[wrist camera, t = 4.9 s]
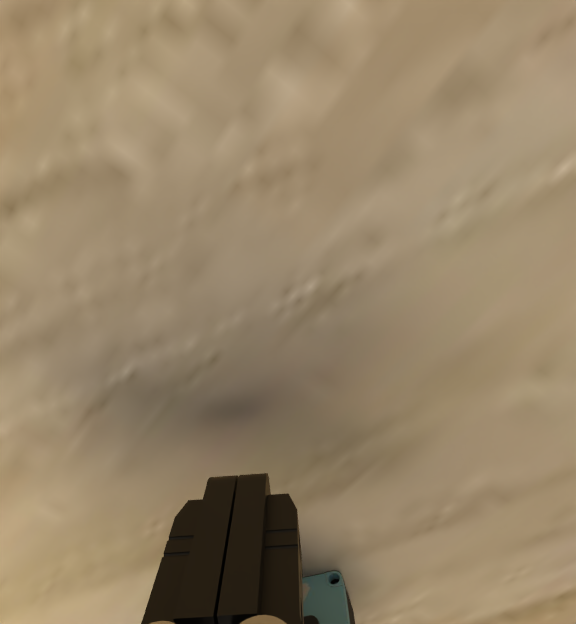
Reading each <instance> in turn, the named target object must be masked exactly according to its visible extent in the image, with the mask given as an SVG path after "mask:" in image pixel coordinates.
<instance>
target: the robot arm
mask: <svg viewBox="0 0 576 624" xmlns="http://www.w3.org/2000/svg"><path fill="white" fill-rule="evenodd" d="M141 624H304V614H303V586H302V557H301V545H300V535H299V525H298V514H297V508H296V507H295V505H294V503H293V501H292V499H291V498H290V496H289V494H276V495H271V493H270V485H269V477H268V474H267V473H265V474H250V475H239V477H238V476H223V477H210V478H209V479H208V482H207V486H206V490H205V494H204V498H203V500H188V502H187V503H186V504H185V505H184V507H183V508H182V509H181V510H180V512H179V513H178V514H177V516H176V517H175V519H174V522H173V525H172V528H171V532H170V535H169V541H167V544H166V547H165V551H164V557H162V560H161V563H160V566H159V570H158V573H157V576H156V579H155V582H154V585H153V589H152V592H151V595H150V598H149V601H148V604H147V607H146V611H145V614H144V617H143V620H142V623H141Z"/></svg>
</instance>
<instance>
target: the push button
mask: <svg viewBox="0 0 576 624" xmlns="http://www.w3.org/2000/svg"><path fill="white" fill-rule="evenodd" d="M302 586H303V614H304V624H355V620H354V613H353V609H352V606H351V603H350V600H349V597H348V594H347V591H346V588H345V584H344V581H343V578H342V576H341V573H339V572H338V571H331V572H326V573H324V574H319V575H314V576H309V577H304V578H302Z"/></svg>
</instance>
